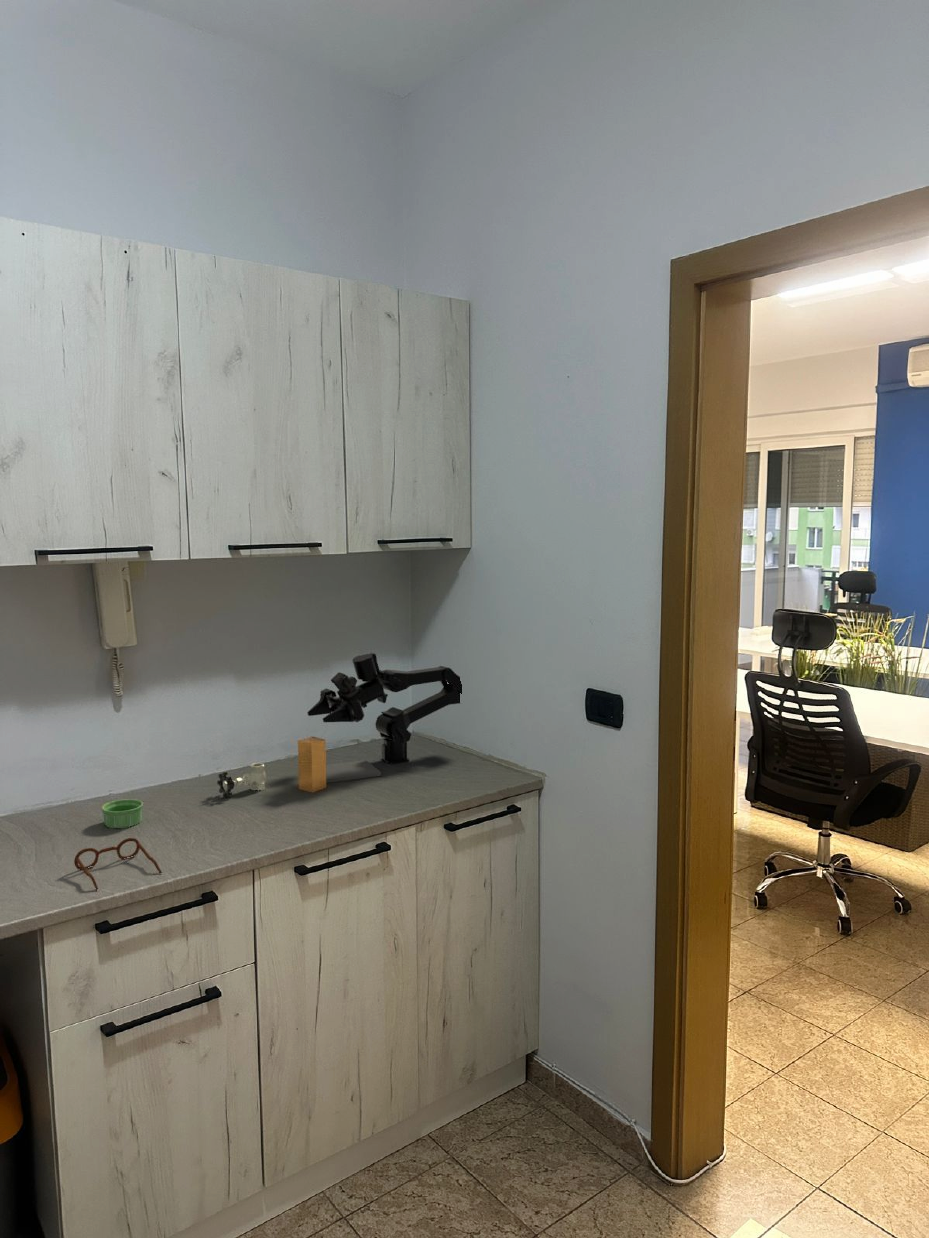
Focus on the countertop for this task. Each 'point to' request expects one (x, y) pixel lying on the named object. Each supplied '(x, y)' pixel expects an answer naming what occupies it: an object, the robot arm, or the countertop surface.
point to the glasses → (139, 846)
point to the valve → (244, 780)
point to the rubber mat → (350, 771)
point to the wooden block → (312, 764)
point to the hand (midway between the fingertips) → (315, 717)
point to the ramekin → (122, 813)
